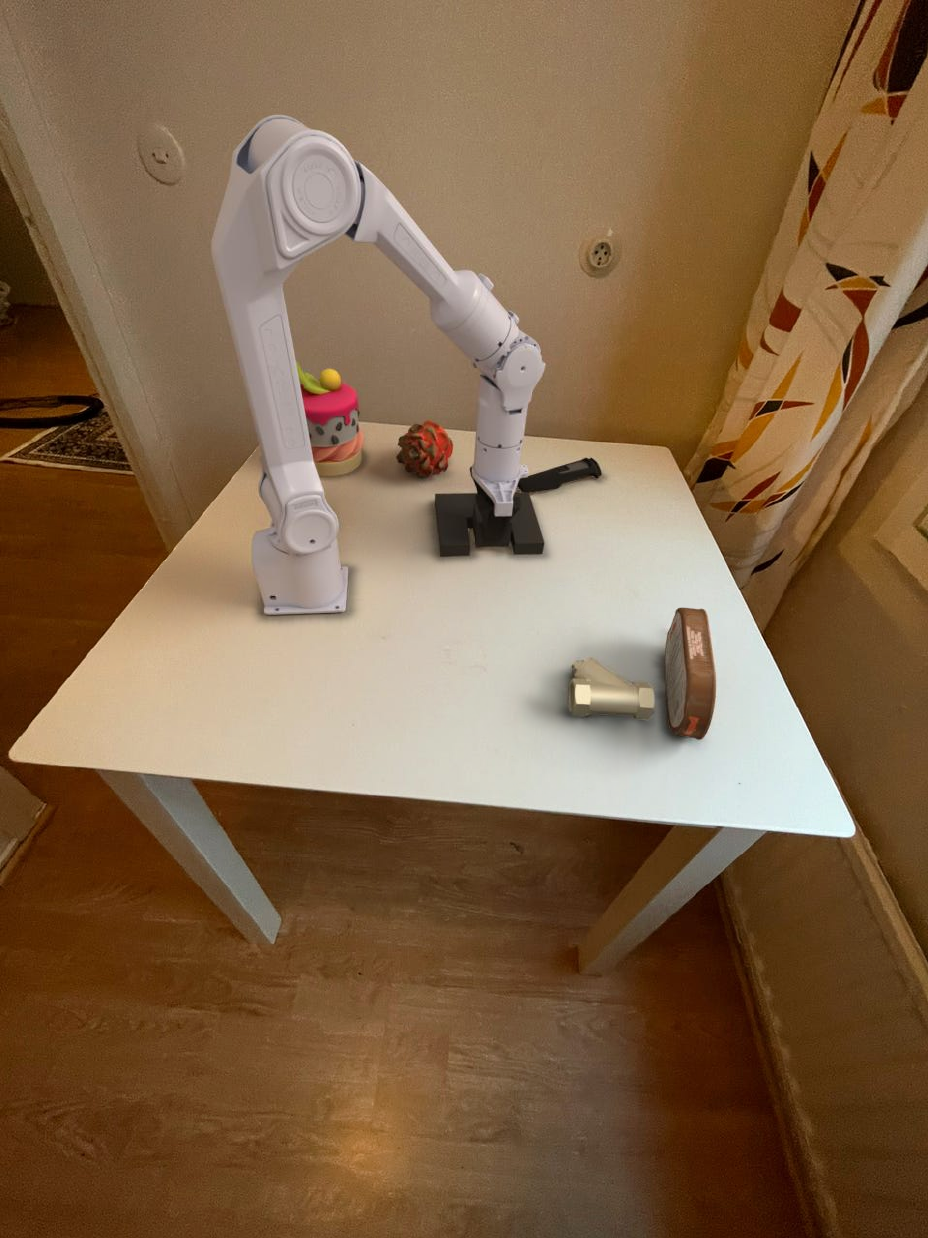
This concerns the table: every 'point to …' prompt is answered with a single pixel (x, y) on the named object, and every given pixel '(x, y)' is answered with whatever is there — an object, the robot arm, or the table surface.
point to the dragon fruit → (425, 449)
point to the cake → (331, 422)
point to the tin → (690, 674)
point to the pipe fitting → (607, 693)
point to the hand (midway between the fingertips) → (490, 528)
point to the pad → (479, 533)
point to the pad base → (458, 518)
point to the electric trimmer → (560, 476)
